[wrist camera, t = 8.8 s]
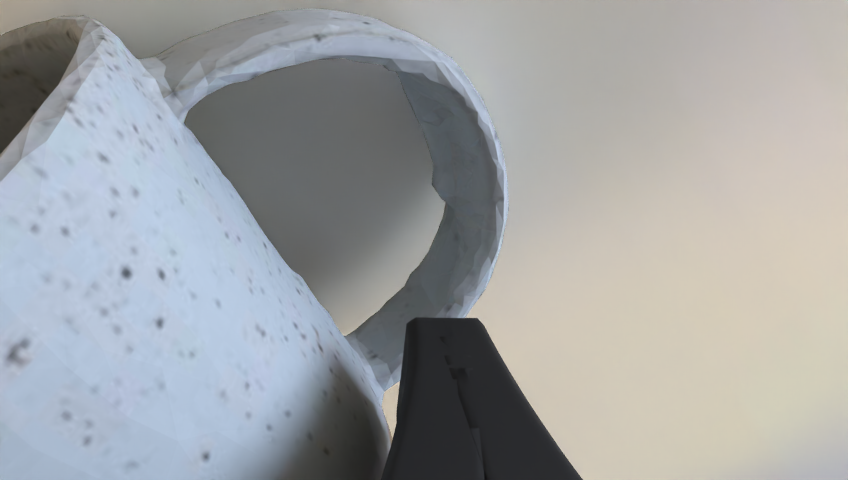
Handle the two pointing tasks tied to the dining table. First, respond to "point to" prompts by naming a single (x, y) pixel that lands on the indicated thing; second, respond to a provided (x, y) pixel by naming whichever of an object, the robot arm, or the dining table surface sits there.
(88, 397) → the ceramic mug
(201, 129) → the dining table surface
